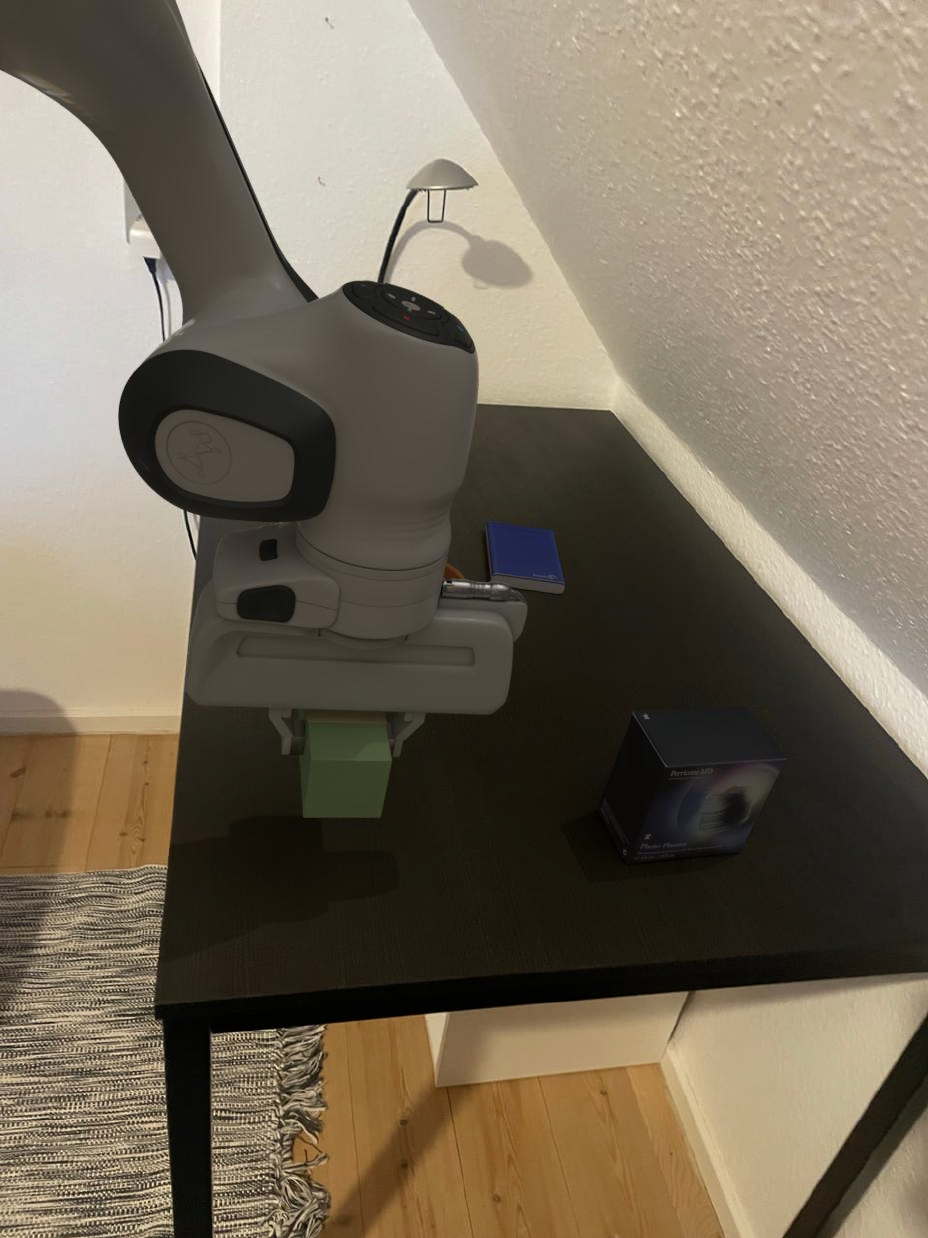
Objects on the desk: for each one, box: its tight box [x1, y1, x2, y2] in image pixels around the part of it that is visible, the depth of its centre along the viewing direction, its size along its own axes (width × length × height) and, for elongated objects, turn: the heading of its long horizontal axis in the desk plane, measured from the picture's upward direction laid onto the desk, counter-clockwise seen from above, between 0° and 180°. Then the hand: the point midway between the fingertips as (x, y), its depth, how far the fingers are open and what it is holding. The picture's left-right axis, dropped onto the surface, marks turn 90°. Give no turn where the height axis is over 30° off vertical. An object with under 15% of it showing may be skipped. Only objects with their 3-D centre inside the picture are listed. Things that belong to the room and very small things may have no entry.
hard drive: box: [485, 521, 566, 595], centre depth 109 cm, size 2×8×12 cm
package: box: [297, 709, 393, 819], centre depth 63 cm, size 5×9×5 cm, turn 10°
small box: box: [595, 705, 787, 865], centre depth 73 cm, size 11×6×10 cm, turn 105°
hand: (339, 750), depth 63 cm, fingers closed on package, 5 cm apart
